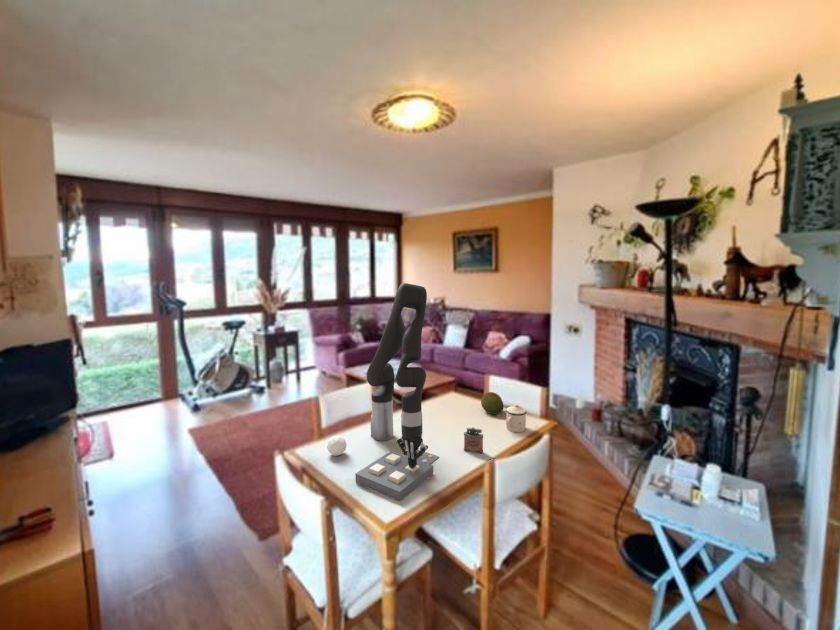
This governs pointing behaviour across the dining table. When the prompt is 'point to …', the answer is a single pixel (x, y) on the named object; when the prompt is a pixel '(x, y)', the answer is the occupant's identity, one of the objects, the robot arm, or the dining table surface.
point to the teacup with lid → (516, 418)
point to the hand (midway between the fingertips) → (412, 466)
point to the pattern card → (427, 457)
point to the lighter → (473, 441)
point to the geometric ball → (336, 445)
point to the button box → (382, 481)
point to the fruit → (492, 403)
